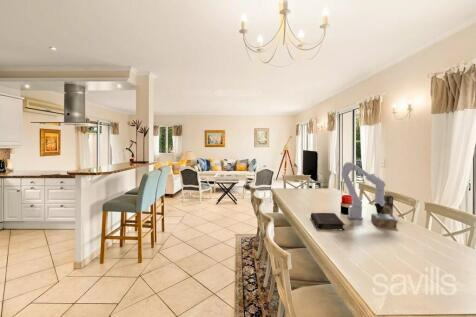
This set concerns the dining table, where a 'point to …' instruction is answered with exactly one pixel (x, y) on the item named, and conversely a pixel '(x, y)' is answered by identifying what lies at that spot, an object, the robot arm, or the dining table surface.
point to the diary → (327, 221)
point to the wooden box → (383, 222)
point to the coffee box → (387, 205)
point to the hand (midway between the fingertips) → (378, 213)
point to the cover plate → (383, 217)
